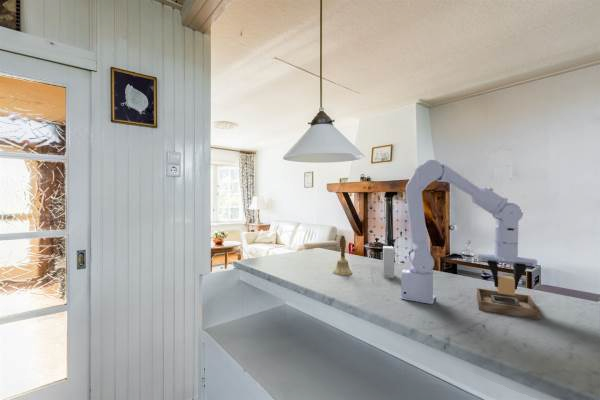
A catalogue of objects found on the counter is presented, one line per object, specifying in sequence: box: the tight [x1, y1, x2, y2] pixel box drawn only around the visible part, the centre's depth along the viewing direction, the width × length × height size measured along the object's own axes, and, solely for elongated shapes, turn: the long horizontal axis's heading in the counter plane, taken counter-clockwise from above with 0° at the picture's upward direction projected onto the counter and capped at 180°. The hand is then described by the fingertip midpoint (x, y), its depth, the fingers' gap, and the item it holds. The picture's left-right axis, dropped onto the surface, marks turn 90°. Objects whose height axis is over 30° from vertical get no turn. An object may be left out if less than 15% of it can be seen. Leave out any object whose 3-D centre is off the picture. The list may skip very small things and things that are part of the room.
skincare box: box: [381, 245, 395, 279], centre depth 120 cm, size 6×4×12 cm
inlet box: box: [476, 287, 541, 321], centre depth 88 cm, size 14×14×2 cm
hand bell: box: [332, 235, 353, 276], centre depth 125 cm, size 8×8×16 cm
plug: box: [496, 274, 516, 296], centre depth 88 cm, size 4×4×4 cm
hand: (505, 287), depth 88 cm, fingers closed on plug, 4 cm apart
